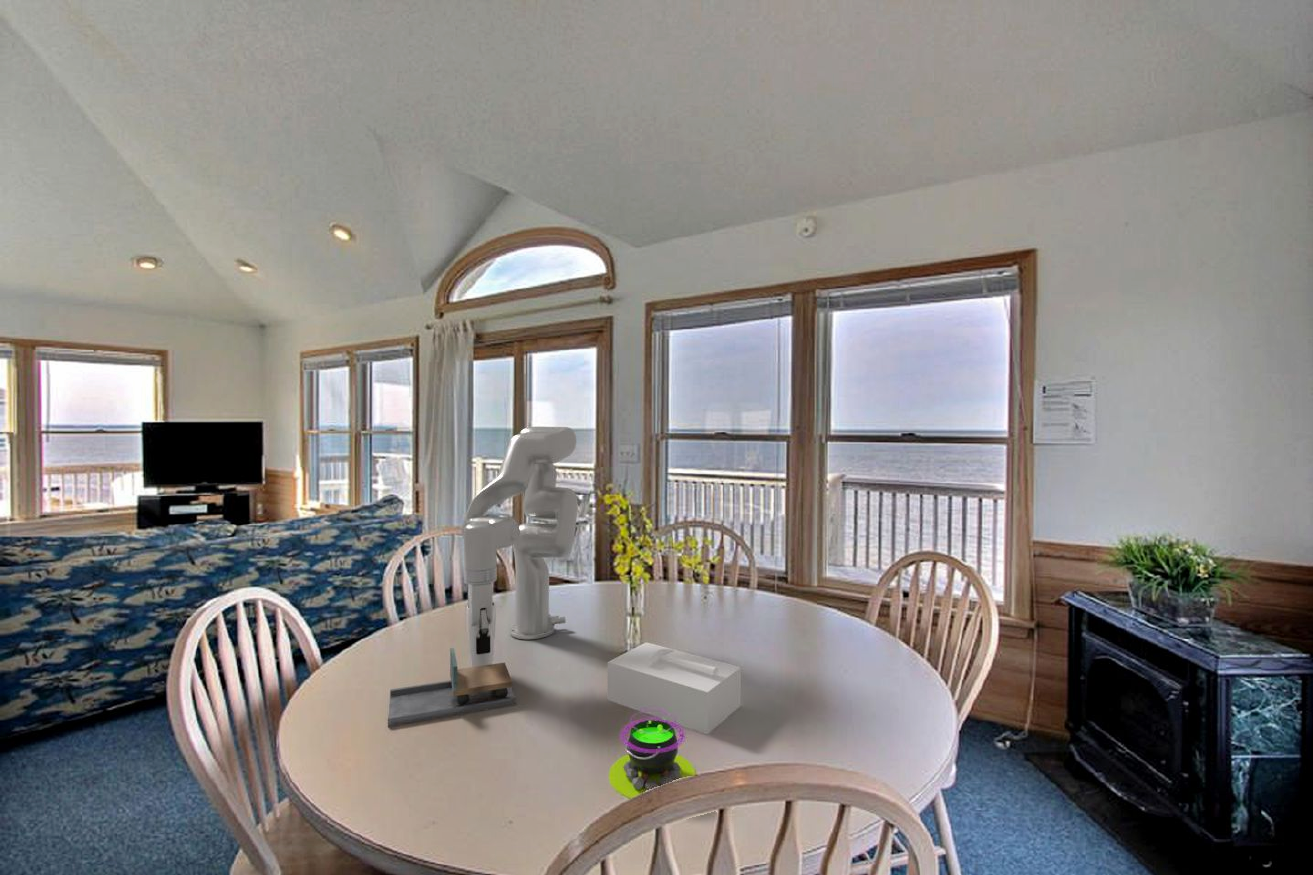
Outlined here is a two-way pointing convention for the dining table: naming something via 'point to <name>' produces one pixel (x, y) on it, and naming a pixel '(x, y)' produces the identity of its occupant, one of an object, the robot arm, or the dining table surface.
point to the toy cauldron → (649, 757)
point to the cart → (478, 679)
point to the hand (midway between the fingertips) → (481, 646)
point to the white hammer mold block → (675, 686)
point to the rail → (438, 702)
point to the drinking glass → (472, 634)
